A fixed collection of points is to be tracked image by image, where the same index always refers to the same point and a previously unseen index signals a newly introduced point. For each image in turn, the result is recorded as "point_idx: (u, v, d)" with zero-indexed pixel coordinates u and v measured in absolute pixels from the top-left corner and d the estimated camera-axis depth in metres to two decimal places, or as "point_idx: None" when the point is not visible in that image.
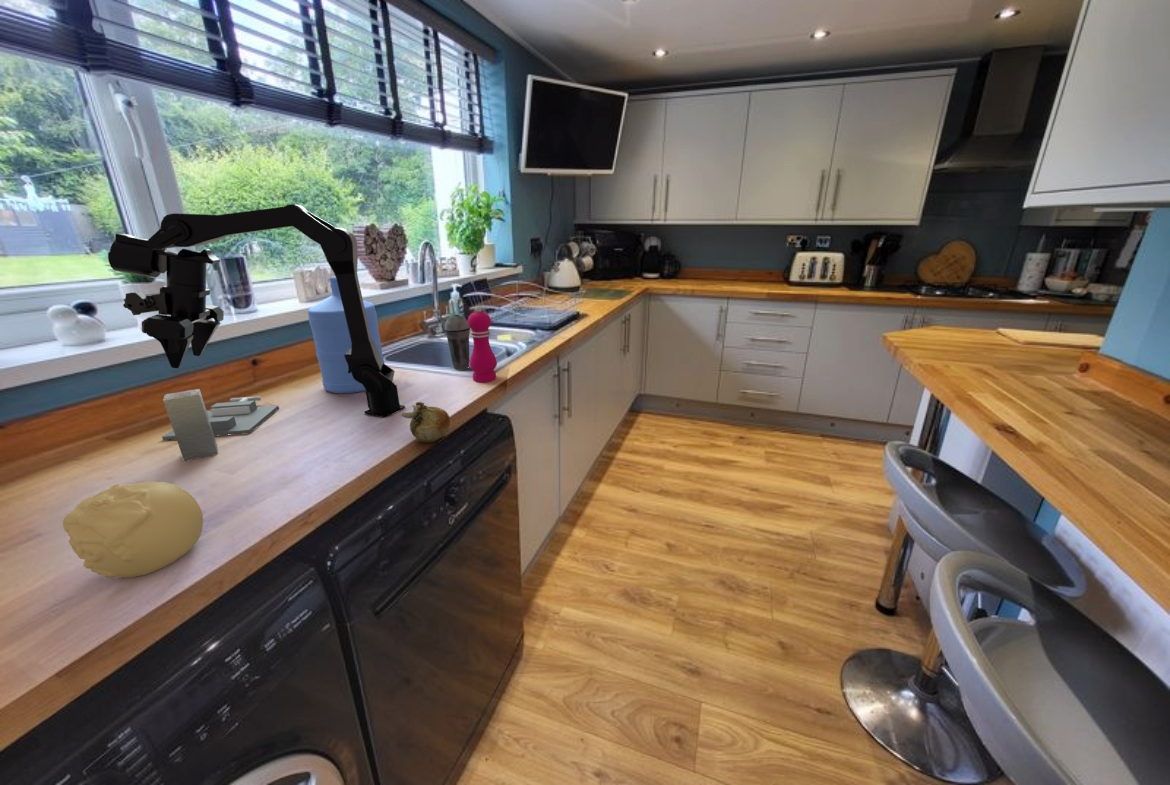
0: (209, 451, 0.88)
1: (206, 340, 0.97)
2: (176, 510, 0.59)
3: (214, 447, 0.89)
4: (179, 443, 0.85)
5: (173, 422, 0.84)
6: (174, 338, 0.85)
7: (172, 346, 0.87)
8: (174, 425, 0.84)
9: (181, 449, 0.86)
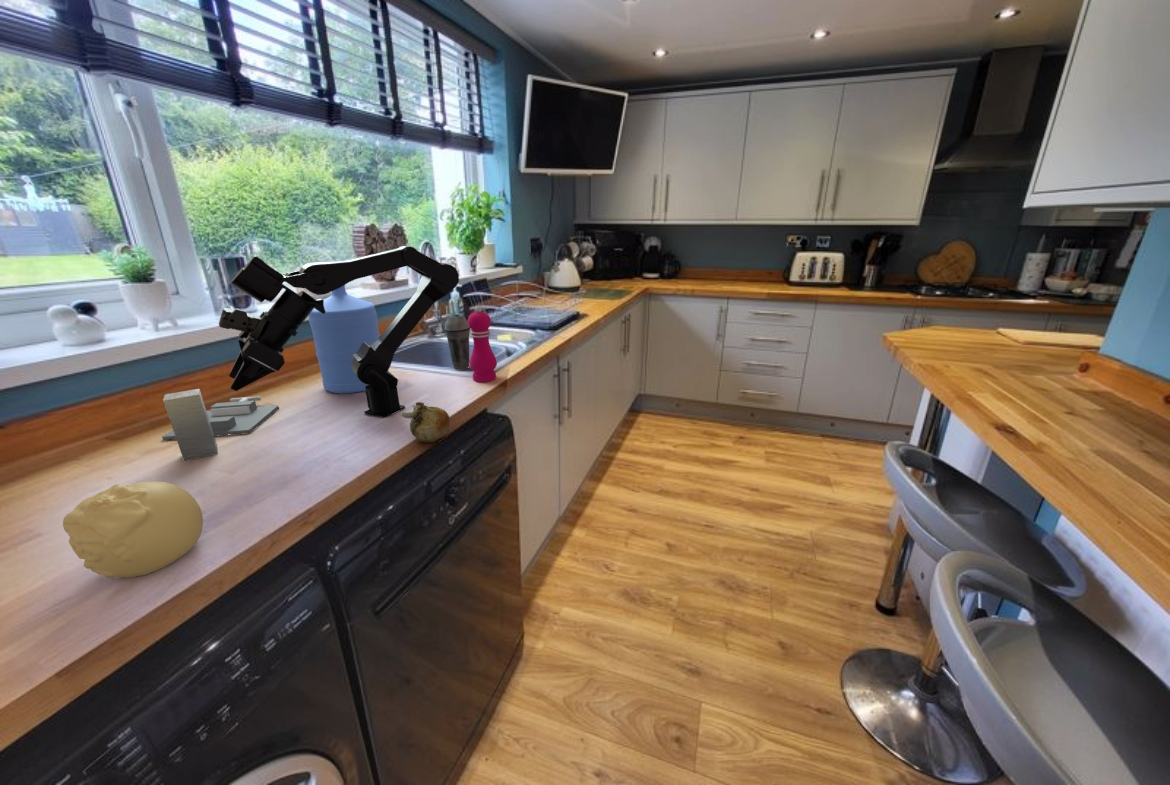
0: (209, 451, 0.88)
1: None
2: (176, 510, 0.59)
3: (214, 447, 0.89)
4: (179, 443, 0.85)
5: (173, 422, 0.84)
6: (265, 367, 0.85)
7: (249, 371, 0.86)
8: (174, 425, 0.84)
9: (181, 449, 0.86)
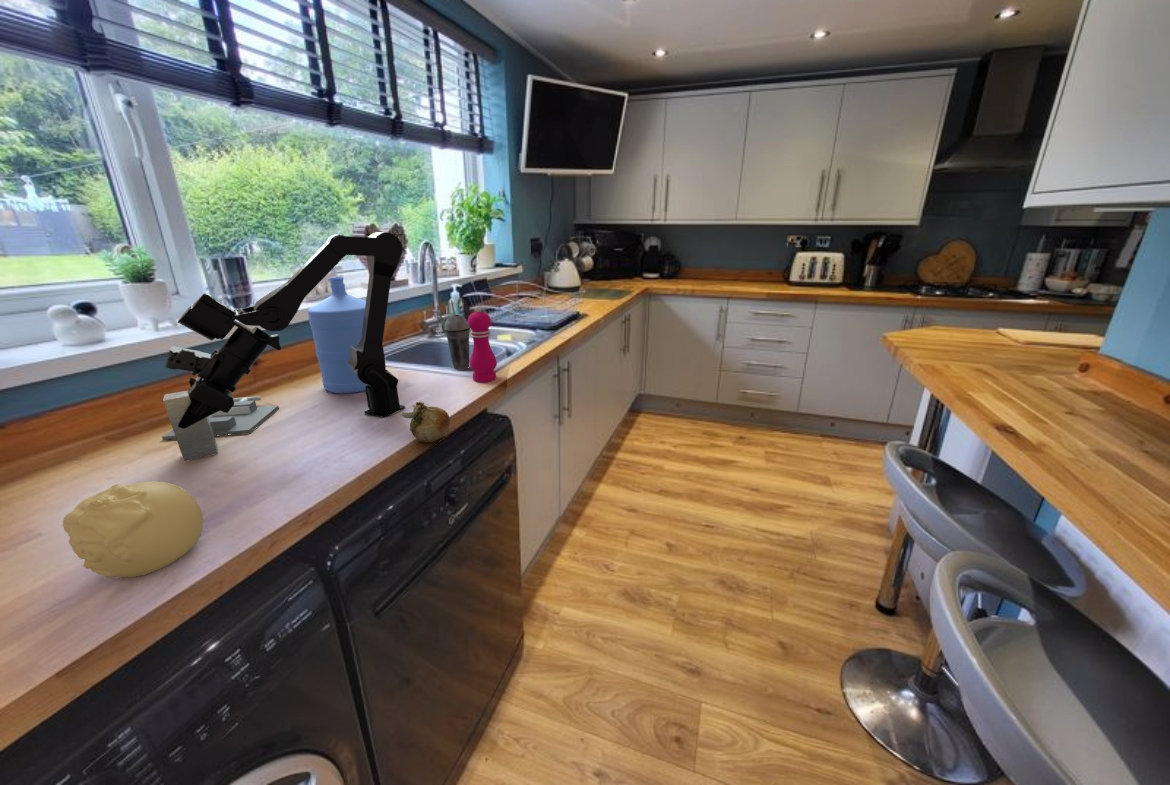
0: (209, 451, 0.88)
1: None
2: (176, 510, 0.59)
3: (214, 447, 0.89)
4: (179, 443, 0.85)
5: (173, 422, 0.84)
6: None
7: (197, 408, 0.84)
8: (174, 425, 0.84)
9: (181, 449, 0.86)
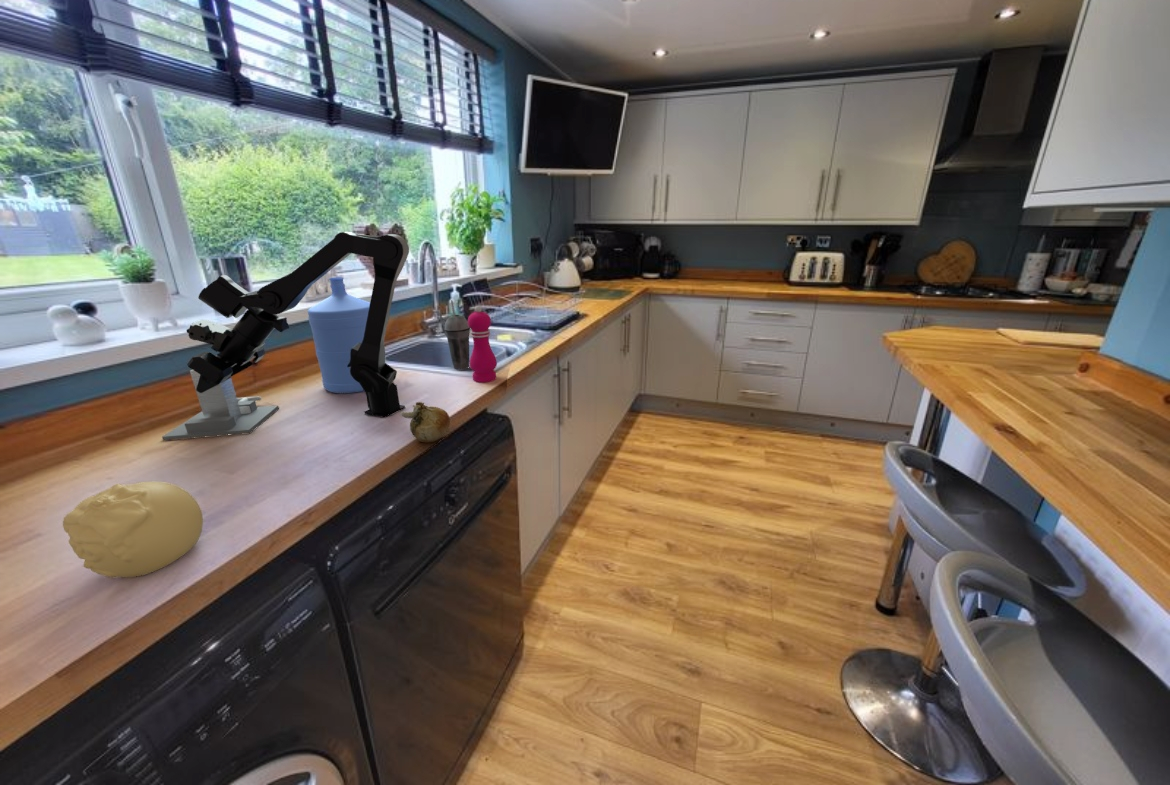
0: None
1: (231, 375, 1.03)
2: (176, 510, 0.59)
3: None
4: (202, 408, 0.99)
5: None
6: None
7: None
8: (198, 392, 0.98)
9: (204, 413, 0.99)
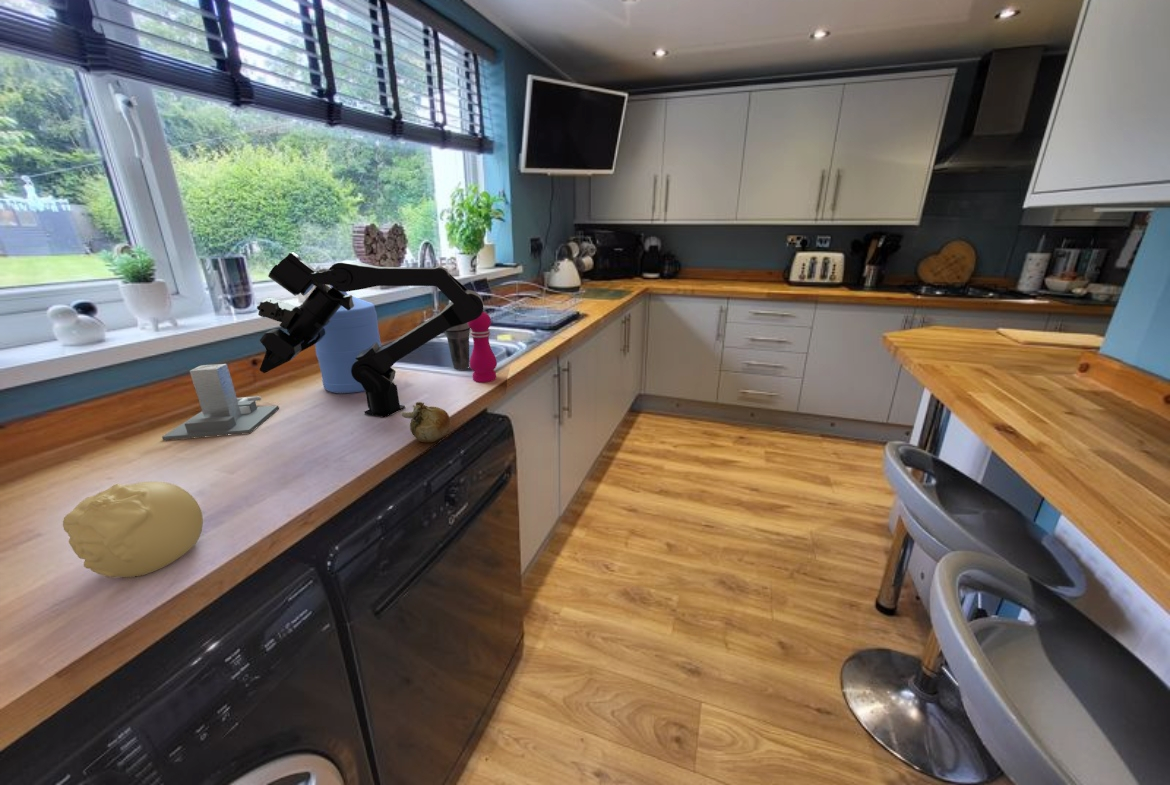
0: None
1: None
2: (176, 510, 0.59)
3: None
4: (202, 408, 0.99)
5: (197, 390, 0.98)
6: (280, 355, 0.92)
7: (273, 357, 0.94)
8: (198, 392, 0.98)
9: (204, 413, 0.99)
